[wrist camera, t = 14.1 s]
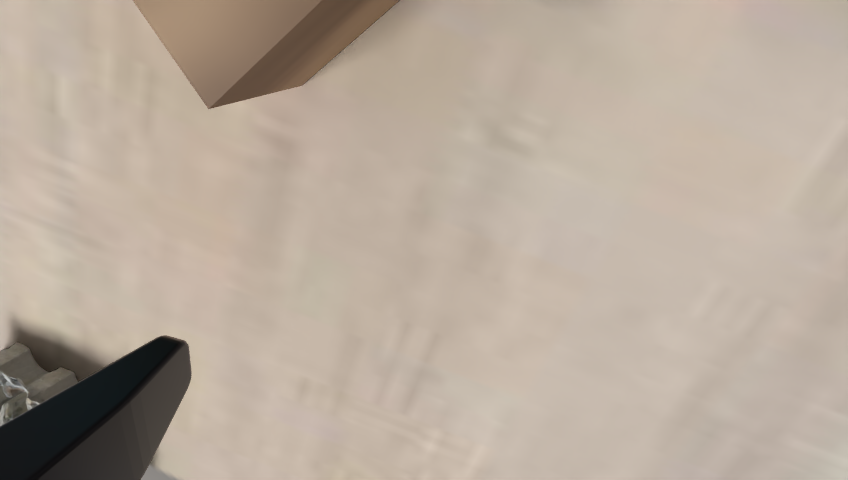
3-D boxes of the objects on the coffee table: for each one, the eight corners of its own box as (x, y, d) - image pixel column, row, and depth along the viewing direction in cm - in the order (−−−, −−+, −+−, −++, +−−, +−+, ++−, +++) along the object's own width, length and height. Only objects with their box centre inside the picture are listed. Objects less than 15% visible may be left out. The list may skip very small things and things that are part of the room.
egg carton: (149, 406, 32) (86, 456, 29) (140, 493, 36) (83, 548, 32) (3, 321, 35) (-73, 358, 31) (8, 412, 38) (-59, 454, 35)
